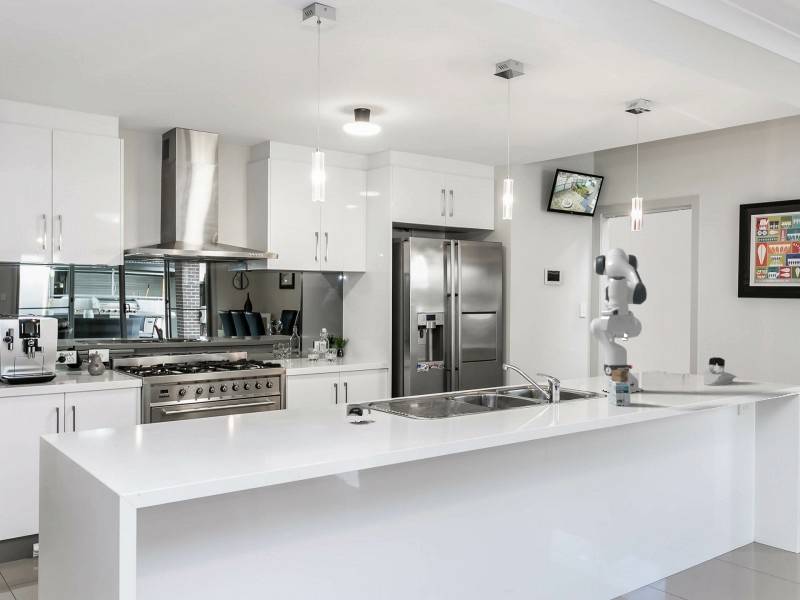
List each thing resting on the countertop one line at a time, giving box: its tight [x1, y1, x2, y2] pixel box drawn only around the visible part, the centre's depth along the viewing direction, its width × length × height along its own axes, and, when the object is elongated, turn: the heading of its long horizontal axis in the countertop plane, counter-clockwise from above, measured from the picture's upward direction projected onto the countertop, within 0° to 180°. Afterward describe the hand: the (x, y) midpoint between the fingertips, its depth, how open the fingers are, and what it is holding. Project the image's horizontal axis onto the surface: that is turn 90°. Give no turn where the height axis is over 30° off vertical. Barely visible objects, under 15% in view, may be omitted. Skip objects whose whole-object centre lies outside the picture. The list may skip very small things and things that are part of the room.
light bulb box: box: [609, 380, 631, 407], centre depth 319 cm, size 11×7×11 cm, turn 179°
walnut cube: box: [612, 370, 628, 382], centre depth 319 cm, size 5×5×5 cm
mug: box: [345, 403, 372, 417], centre depth 281 cm, size 10×7×7 cm, turn 105°
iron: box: [703, 356, 738, 386], centre depth 393 cm, size 11×24×15 cm, turn 133°
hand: (618, 341), depth 319 cm, fingers open, 8 cm apart
